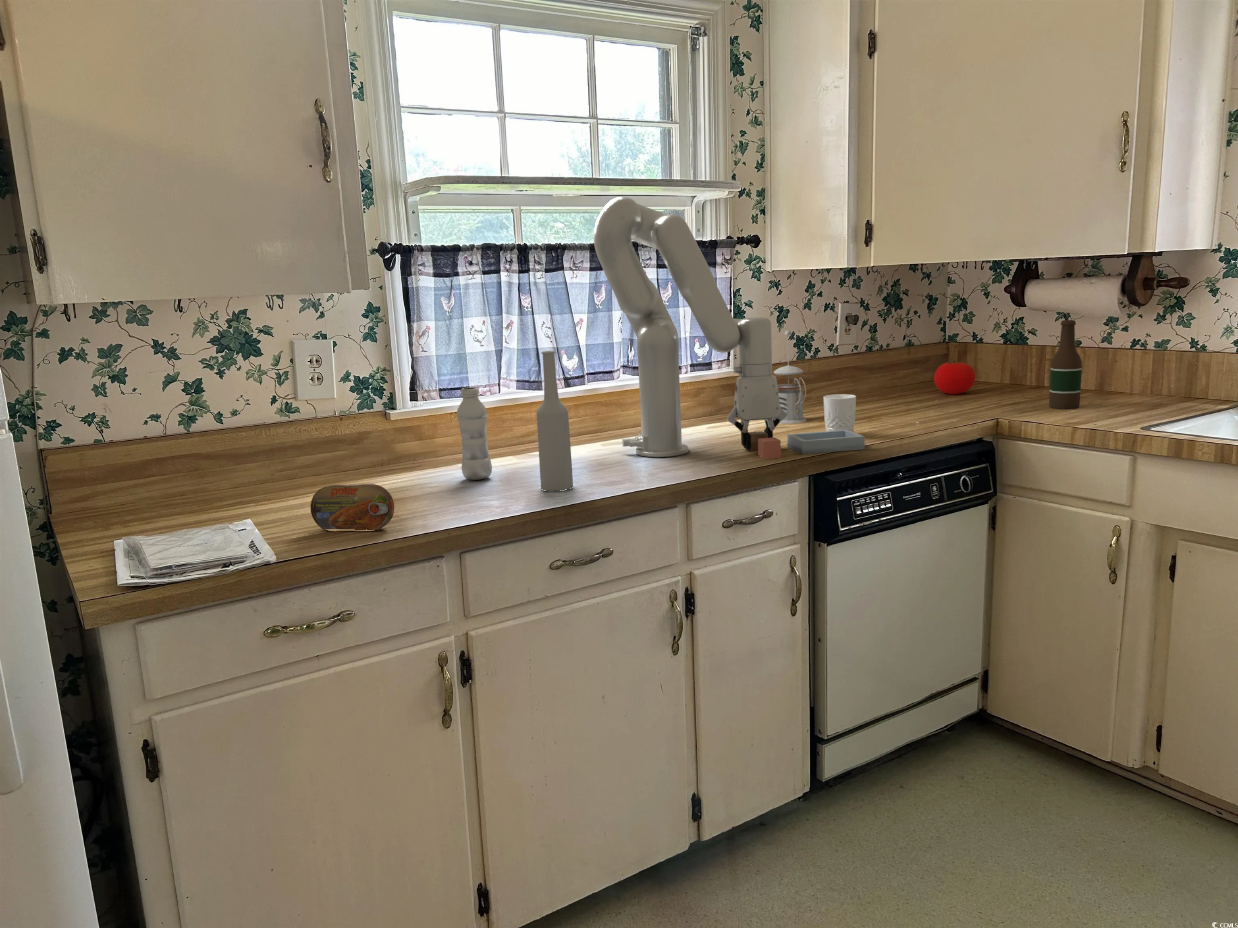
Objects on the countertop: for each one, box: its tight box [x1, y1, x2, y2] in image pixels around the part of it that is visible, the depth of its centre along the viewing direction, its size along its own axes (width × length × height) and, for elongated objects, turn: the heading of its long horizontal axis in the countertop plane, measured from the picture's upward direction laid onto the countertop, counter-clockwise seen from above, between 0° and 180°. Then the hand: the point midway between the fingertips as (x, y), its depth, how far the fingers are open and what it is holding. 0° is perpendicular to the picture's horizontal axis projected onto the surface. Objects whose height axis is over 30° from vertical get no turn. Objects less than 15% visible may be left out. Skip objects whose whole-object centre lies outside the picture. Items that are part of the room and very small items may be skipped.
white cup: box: [823, 393, 857, 433], centre depth 226 cm, size 8×8×10 cm
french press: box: [773, 330, 807, 425], centre depth 250 cm, size 10×12×25 cm
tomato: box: [933, 360, 976, 395], centre depth 287 cm, size 11×12×10 cm
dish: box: [786, 430, 866, 455], centre depth 213 cm, size 15×10×3 cm, turn 99°
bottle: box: [536, 350, 574, 492], centre depth 183 cm, size 7×7×28 cm
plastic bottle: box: [456, 386, 493, 481], centre depth 196 cm, size 6×7×20 cm
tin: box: [309, 483, 395, 531], centre depth 161 cm, size 15×3×8 cm, turn 80°
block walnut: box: [748, 430, 768, 452], centre depth 215 cm, size 4×4×4 cm
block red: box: [757, 436, 782, 460], centre depth 207 cm, size 4×4×4 cm
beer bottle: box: [1048, 319, 1083, 410], centre depth 250 cm, size 8×8×24 cm
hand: (757, 446), depth 216 cm, fingers open, 4 cm apart
